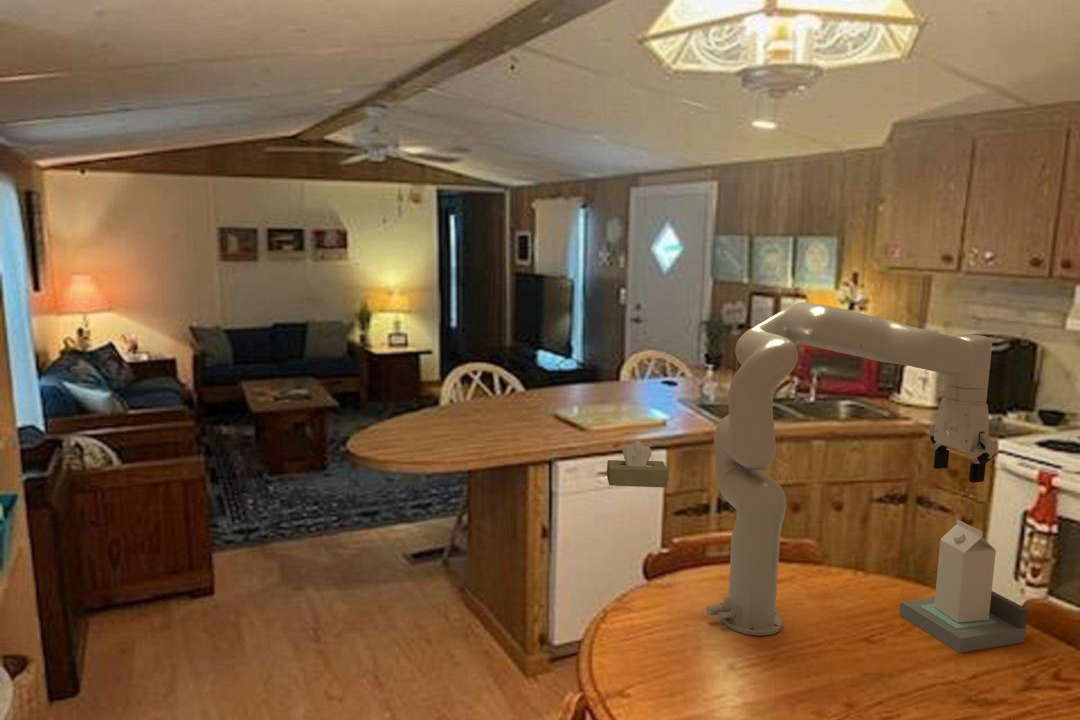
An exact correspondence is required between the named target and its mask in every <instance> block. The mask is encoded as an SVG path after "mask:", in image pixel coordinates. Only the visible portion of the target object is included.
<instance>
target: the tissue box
mask: <svg viewBox="0 0 1080 720" xmlns="http://www.w3.org/2000/svg"><path fill="white" fill-rule="evenodd" d="M621 451H622V454H623V458H624V460H618V459H615V460H613V459H609V460H607V463H606V464H607V466H606V477H607V483H608V486H613V487H635V488H636V487H637V488H638V487H639V488H664V489H665V488H666V489H667V488H668V482H669V481H668V473H669V472H668V468H667V466H666V464H665V462H664V461H662V460H650V458H651V457H652V453H653V450H652V448H651V447H650V446H648V445H643V443H642V442H641V440H635V441H634V442H633V443H631V444H626V445H625V446H624V447H621Z"/></svg>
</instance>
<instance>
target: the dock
mask: <svg viewBox="0 0 1080 720" xmlns="http://www.w3.org/2000/svg"><path fill="white" fill-rule="evenodd" d="M934 603H935V596H932V597H926V598H919V599H913V600H912V599H911V600H905V601H900V605H899V607H900V608H899V616H900V617H902V618H904V620H907V621H908V622H910V624H913V625H915V626H917V627H918V629H921V630H922V631H924V632H926V633H927V634H929V635H930V636H932V637H934V638H936V639H937V640H938V641H940V642H941V643H943V644H944V645H946V646H948V647H949V648H951V649H953V650H954V651H956V652H957V653H958V654H960V653H966V652H967V653H968V652H974V651H979V650H985V649H992V648H997V647H1003V646H1008V645H1016V644H1021V643H1024V642H1025V638H1026V637H1025V636H1026V627H1027V626H1026V625H1027V618H1028V608H1026V607H1024V606H1022V605H1020V604H1019V603H1016V602H1014V600H1013V601H1012V600H1010V599H1008V598H1007V597H1004V596H1003V595H1001V594H1000V593H997V592H995V591H993V590H992V592H991V602H990V611H989V620H983V621H971V622H956V621H954V620H953V619H952V618H950V617H949V616H947V615H946V614H944V613H943V612H941V611H940V610H938V609H937V608H935V607H934Z"/></svg>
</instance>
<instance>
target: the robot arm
mask: <svg viewBox="0 0 1080 720" xmlns="http://www.w3.org/2000/svg"><path fill="white" fill-rule="evenodd" d="M801 344H804V345H807V346H811V347H814V348H819V349H823V350H828V351H832V352H836V353H841V354H846V355H849V356H850V355H851V356H855V357H859V358H863V359H866V360H867V359H868V360H872V361H877V362H880V363H881V362H882V363H889V364H897V365H901V366H907V367H912V368H917V369H920V370H924V371H930V372H935V373H939V374H944V375H946V382H945V386H944V390H945V393H944V394H945V395H944V397H942V398H941V400H940V404H939V406H938V411H937V414H936V418H935V424H932V425H930V426H929V427H928V432H929V435H930V441H931V443H932V448H933V450H934V458H933V469H935V470H939V469H941V470H942V469H943V470H944V469H947V468H948V467H949V458H950V449H952V450H956V451H957V452H962V453H969V456H970V457H971V460H972V462H970V466H969V473H968V474H969V476H968V482H970V483H983V482H984V481H985V474H986V464H989V463H990V461H991V460H992V459H993V458H994V457H995V456H994V455H995V454H996V452H997V451H998V449H999V446H998V445H997V444H996V443H995V442H994V441H993V440H992V439H991V438H990V437H989V431H990V430H989V428H990V427H989V426H990V425H989V424H990V422H989V421H990V419H989V406H988V404H987V399H988V390H989V389H988V387H989V378H990V371H991V370H990V369H991V361H992V349H993V342H992V340H991V338H990V337H988V336H985V335H978V334H968V333H967V334H956V335H952V334H951V335H948V334H944V333H939V332H935V331H931V330H926V329H923V328H919V327H915V326H910V325H907V324H903V323H900V322H897V321H893V320H891V319H885V318H882V317H879V316H874V315H869V314H865V313H860V312H856V311H851V310H848V309H844V308H838V307H834V306H830V305H825V304H819V303H813V302H808V301H807V302H805V301H802V302H797V303H794V304H792V305H789V306H788V307H786V308H784V309H782V310H781V311H779V312H777V313H775V314H773V315H772V316H770V317H768V318H767V319H766V320H764V321H762V322H760V323H758V324H757V325H755V326H752V328H749V329H748V330H747V331H746V332H744V333H743V334H742V335H741V336H740V337H739V338H738V340H737V342H736V345H735V348H734V349H735V350H734V351H735V357H736V359H737V361H738V363H739V364H740V365H741V366H739V368H738V370H737V371H736V373H735V374H734V375H733V378H732V380H731V382H730V385H729V389H728V395H727V396H728V399H727V401H728V403H727V404H728V405H727V406H728V414H727V415H726V416H724V417H723V418H722V419H721V420H719V422H718V423H717V426H716V428H715V431H714V434H713V448H714V458H715V470H716V477H717V478H716V479H717V484H718V489H719V492H720V494H721V496H723V498H724V500H726V502H727V503H728V504H730V505H731V506H732V507H733V508H734V509H735V510H736V517H735V518H736V519H735V521H734V524H733V527H732V531H731V537H730V560H729V561H730V563H729V578H728V579H729V581H728V582H729V583H728V595H727V596H725V597H723V602H720V603H719V604H715V605H707V606H706V614H707V616H708V617H710V616H718V619H719V620H720V622H721V623H722V624H723V625H724V626H725V627H727V628H729V629H730V630H733V632H734V631H735V632H737V633H740V634H745V635H749V636H757V637H758V636H761V637H762V636H763V637H764V636H770V635H774V634H776V633H778V632H780V631H781V630H782V629H783V621H784V620H783V617H782V616H781V615H780V613H779V612H777V611H776V610H777V608H776V607H777V595H778V593H777V591H778V590H777V589H778V578H779V577H778V576H779V575H778V574H779V559H780V543H781V533H782V526H783V522H784V519H785V514H786V510H787V498H786V494H785V491H784V489H783V488H782V486H781V485H780V483H778V482H777V480H776V479H774V478H773V477H771V476H770V475H769V474H767V473H765V472H764V471H763V470H764V469H766V468H767V467H769V466H771V464H772V463H773V461H774V459H775V456H776V451H777V447H776V446H777V444H776V441H777V440H776V434H775V422H774V413H773V412H774V411H773V403H774V402H773V400H774V394H775V392H776V390H777V388H778V386H779V385H780V384H781V382H782V381H783V380H785V378H786V377H787V376H789V375H790V374H791V372H793V370H794V369H795V367H796V365H797V363H798V360H799V352H798V348H797V347H798V346H800V345H801ZM949 448H950V449H949Z"/></svg>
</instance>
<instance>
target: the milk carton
mask: <svg viewBox="0 0 1080 720" xmlns="http://www.w3.org/2000/svg"><path fill="white" fill-rule="evenodd" d="M983 534H984V532H983V531H982V530H980V529H978V528H976V527H974V526H971V525H969V524H967V523H966V522H964V521H961V520H960V519H956V524H955V525H954V526H953V527H952V528H951V529H950V530H949V531H948V532H946V533H945V534H944V535H943V536H942V537H941V538H940V541H939V552H938V562H937V574H936V581H935V582H936V585H935V595H934V597H935V603H934V607H935V608H937V609H938V610H940V611H941V612H943V613H944V614H946V615H947V616H949V617H950V618H952V619H953V620H954V621H956V622H971V621H983V620H989V611H990V602H991V592H992V591H993V583H994V582H993V581H994V571H995V563H996V554H997V551H996V549H995V548H994V547H993V546H992V544H990V542H988V541H987V540H986V539H985V538H984V537H983Z"/></svg>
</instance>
